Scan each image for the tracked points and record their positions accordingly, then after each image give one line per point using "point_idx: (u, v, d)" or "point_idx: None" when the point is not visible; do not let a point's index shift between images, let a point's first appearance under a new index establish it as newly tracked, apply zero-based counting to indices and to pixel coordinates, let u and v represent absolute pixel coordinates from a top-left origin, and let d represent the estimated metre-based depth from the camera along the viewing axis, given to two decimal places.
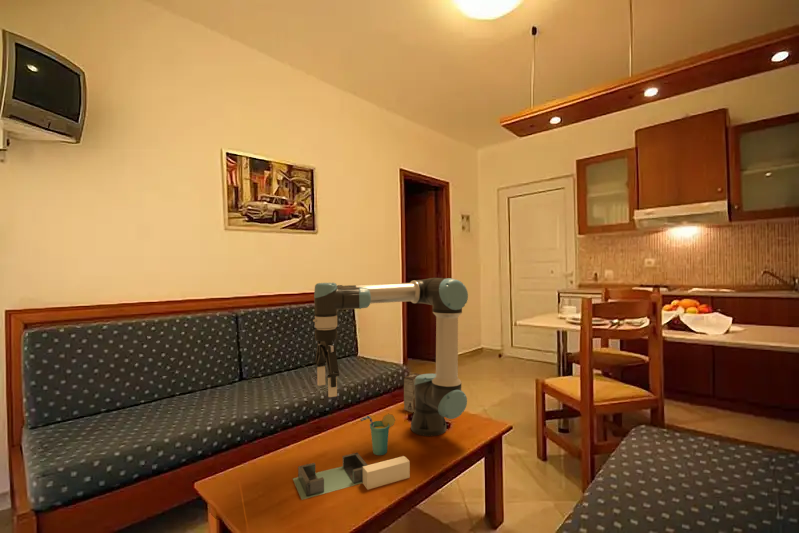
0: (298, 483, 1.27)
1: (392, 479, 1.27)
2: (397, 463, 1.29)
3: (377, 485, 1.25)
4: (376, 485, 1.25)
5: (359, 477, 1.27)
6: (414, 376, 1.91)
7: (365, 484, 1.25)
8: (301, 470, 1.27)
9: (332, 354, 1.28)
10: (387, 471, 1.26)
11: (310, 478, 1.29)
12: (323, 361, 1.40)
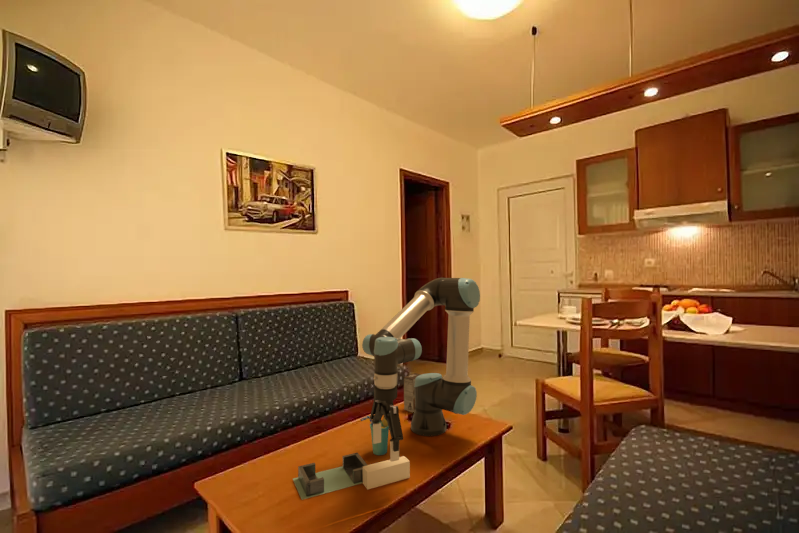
0: (298, 483, 1.27)
1: (392, 479, 1.27)
2: (397, 463, 1.29)
3: (377, 485, 1.25)
4: (376, 485, 1.25)
5: (359, 477, 1.27)
6: (414, 376, 1.91)
7: (365, 484, 1.25)
8: (301, 470, 1.27)
9: (395, 415, 1.22)
10: (387, 471, 1.26)
11: (310, 478, 1.29)
12: (379, 418, 1.34)
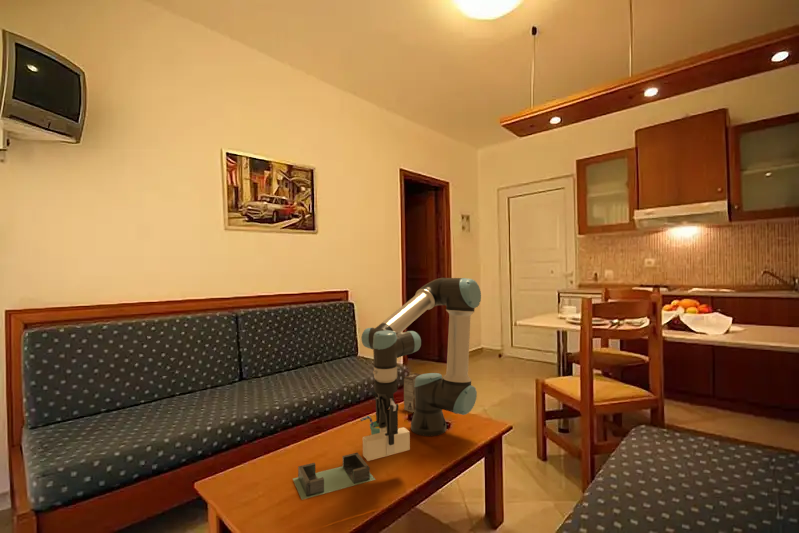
0: (298, 483, 1.27)
1: None
2: None
3: (377, 455, 1.25)
4: (376, 455, 1.25)
5: (359, 477, 1.27)
6: (414, 376, 1.91)
7: (365, 454, 1.25)
8: (301, 470, 1.27)
9: (393, 413, 1.23)
10: None
11: (310, 478, 1.29)
12: (385, 419, 1.31)
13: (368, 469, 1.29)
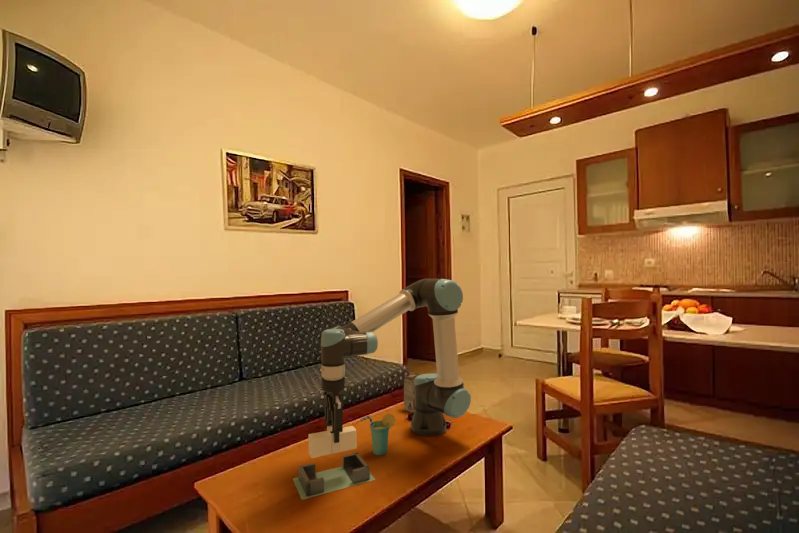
0: (298, 483, 1.27)
1: None
2: (343, 431, 1.29)
3: (322, 452, 1.25)
4: (321, 452, 1.25)
5: (359, 477, 1.27)
6: (414, 376, 1.91)
7: (310, 451, 1.25)
8: (301, 470, 1.27)
9: (338, 411, 1.24)
10: None
11: (310, 478, 1.29)
12: None
13: (368, 469, 1.29)
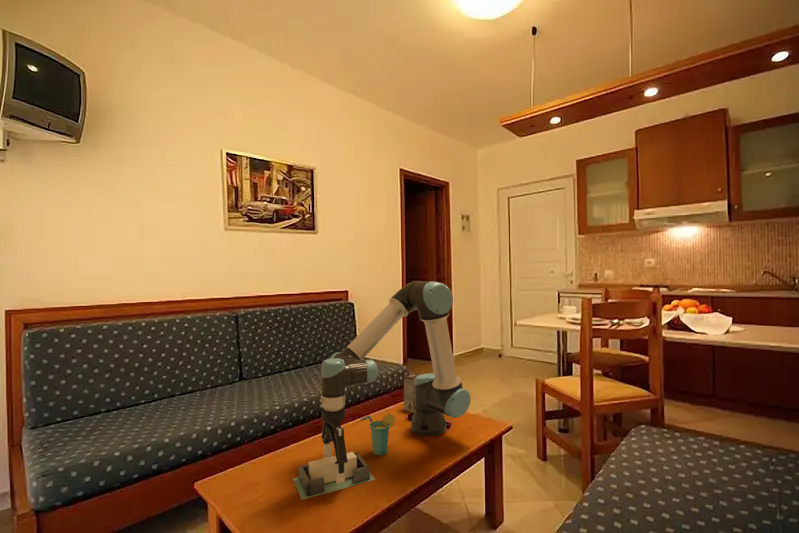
0: (298, 483, 1.27)
1: None
2: None
3: None
4: None
5: (359, 477, 1.27)
6: (414, 376, 1.91)
7: (310, 479, 1.25)
8: (301, 470, 1.27)
9: (340, 438, 1.23)
10: (333, 467, 1.27)
11: None
12: (330, 438, 1.35)
13: (368, 469, 1.29)
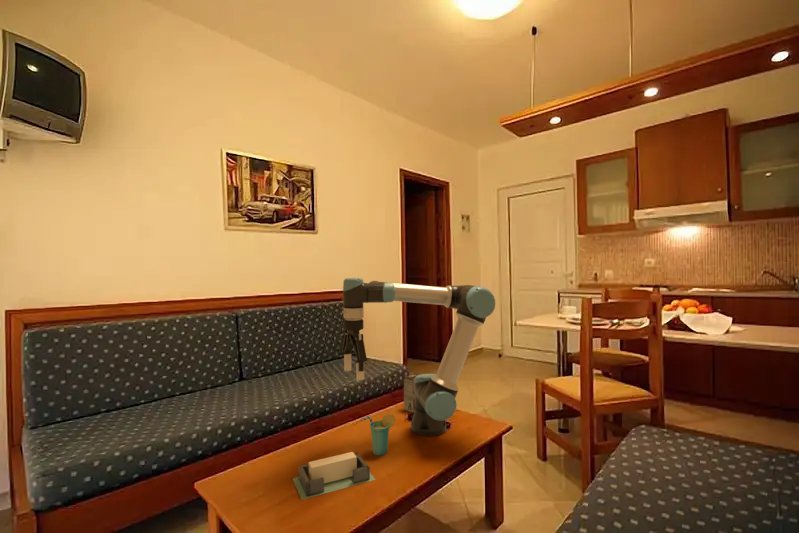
0: (298, 483, 1.27)
1: (338, 474, 1.28)
2: (344, 459, 1.29)
3: None
4: None
5: (359, 477, 1.27)
6: (414, 376, 1.91)
7: (310, 479, 1.25)
8: (301, 470, 1.27)
9: (360, 341, 1.43)
10: (333, 467, 1.27)
11: None
12: (349, 349, 1.55)
13: (368, 469, 1.29)
